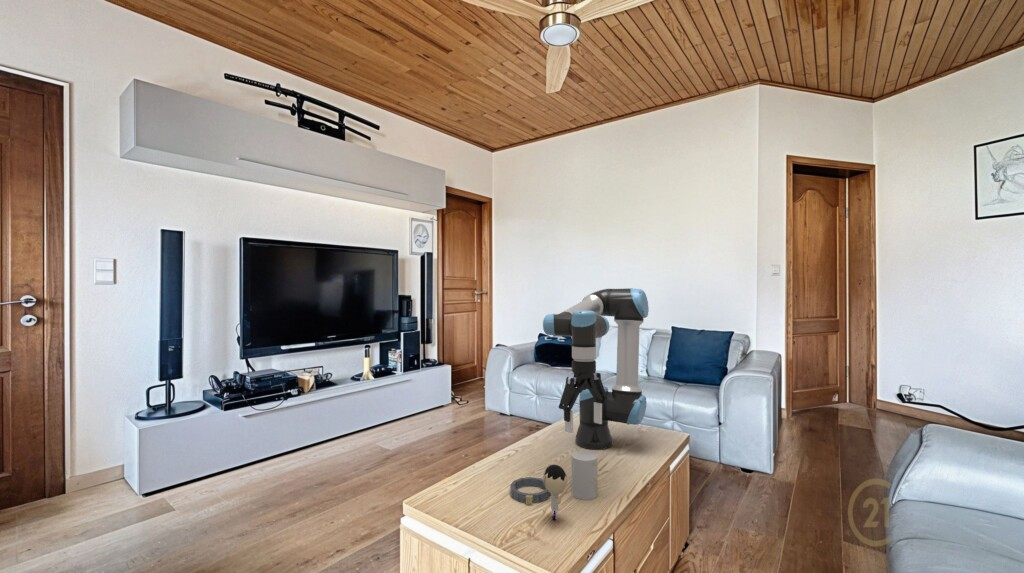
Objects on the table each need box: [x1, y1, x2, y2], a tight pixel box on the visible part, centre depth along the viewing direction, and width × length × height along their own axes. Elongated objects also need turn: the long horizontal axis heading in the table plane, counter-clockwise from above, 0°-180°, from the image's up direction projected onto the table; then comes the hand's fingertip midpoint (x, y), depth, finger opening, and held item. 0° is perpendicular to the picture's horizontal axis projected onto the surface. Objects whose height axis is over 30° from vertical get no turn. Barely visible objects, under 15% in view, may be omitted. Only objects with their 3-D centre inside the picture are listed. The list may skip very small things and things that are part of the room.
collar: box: [509, 476, 551, 506], centre depth 137 cm, size 12×12×2 cm
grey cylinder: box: [570, 450, 599, 501], centre depth 137 cm, size 8×8×12 cm
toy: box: [542, 464, 568, 521], centre depth 122 cm, size 9×7×15 cm
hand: (583, 427), depth 137 cm, fingers open, 13 cm apart
